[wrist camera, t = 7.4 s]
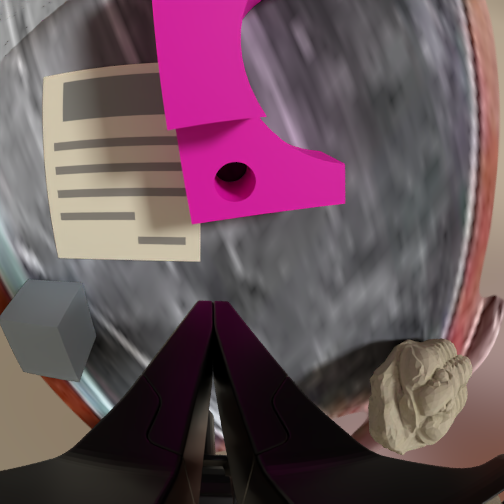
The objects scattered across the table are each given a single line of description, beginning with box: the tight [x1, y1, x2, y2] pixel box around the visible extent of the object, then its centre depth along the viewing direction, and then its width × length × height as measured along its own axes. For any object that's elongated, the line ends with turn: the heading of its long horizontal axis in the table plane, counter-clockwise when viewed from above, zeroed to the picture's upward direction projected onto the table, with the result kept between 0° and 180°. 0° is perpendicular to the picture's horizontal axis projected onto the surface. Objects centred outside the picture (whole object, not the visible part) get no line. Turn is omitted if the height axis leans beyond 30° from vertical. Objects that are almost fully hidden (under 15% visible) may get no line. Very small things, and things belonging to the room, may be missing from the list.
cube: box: [0, 279, 96, 382], centre depth 18 cm, size 5×5×5 cm
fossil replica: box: [368, 339, 472, 455], centre depth 22 cm, size 12×8×10 cm
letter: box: [43, 63, 200, 261], centre depth 16 cm, size 12×10×1 cm
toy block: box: [152, 0, 345, 224], centre depth 12 cm, size 15×6×8 cm
